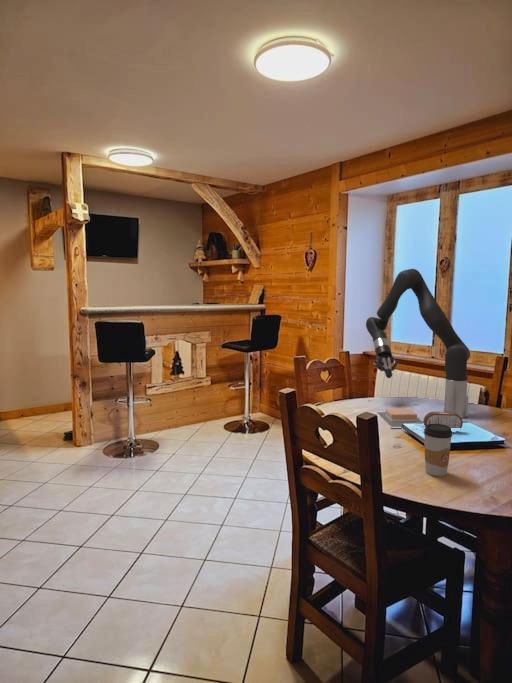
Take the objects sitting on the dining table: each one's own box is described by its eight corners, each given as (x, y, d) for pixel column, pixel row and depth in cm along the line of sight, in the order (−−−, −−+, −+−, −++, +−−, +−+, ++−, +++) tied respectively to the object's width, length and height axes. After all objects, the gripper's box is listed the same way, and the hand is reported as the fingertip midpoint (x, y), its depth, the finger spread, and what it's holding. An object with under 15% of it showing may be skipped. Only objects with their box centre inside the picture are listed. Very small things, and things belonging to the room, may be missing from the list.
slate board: (410, 414, 208) (410, 412, 208) (429, 429, 186) (429, 426, 186) (376, 414, 208) (376, 412, 208) (391, 429, 186) (391, 426, 186)
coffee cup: (436, 480, 136) (438, 432, 134) (416, 470, 143) (418, 425, 142) (456, 475, 139) (458, 429, 137) (435, 466, 147) (437, 421, 145)
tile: (409, 409, 202) (417, 414, 193) (409, 415, 202) (416, 421, 193) (385, 409, 202) (391, 414, 193) (385, 415, 202) (391, 421, 193)
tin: (460, 431, 183) (461, 411, 182) (463, 434, 180) (464, 413, 179) (422, 430, 184) (423, 410, 183) (424, 432, 181) (425, 412, 180)
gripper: (370, 344, 221) (377, 373, 210) (397, 344, 221) (405, 372, 210) (367, 353, 227) (374, 381, 216) (393, 353, 227) (401, 381, 216)
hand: (389, 377), depth 213 cm, fingers closed
